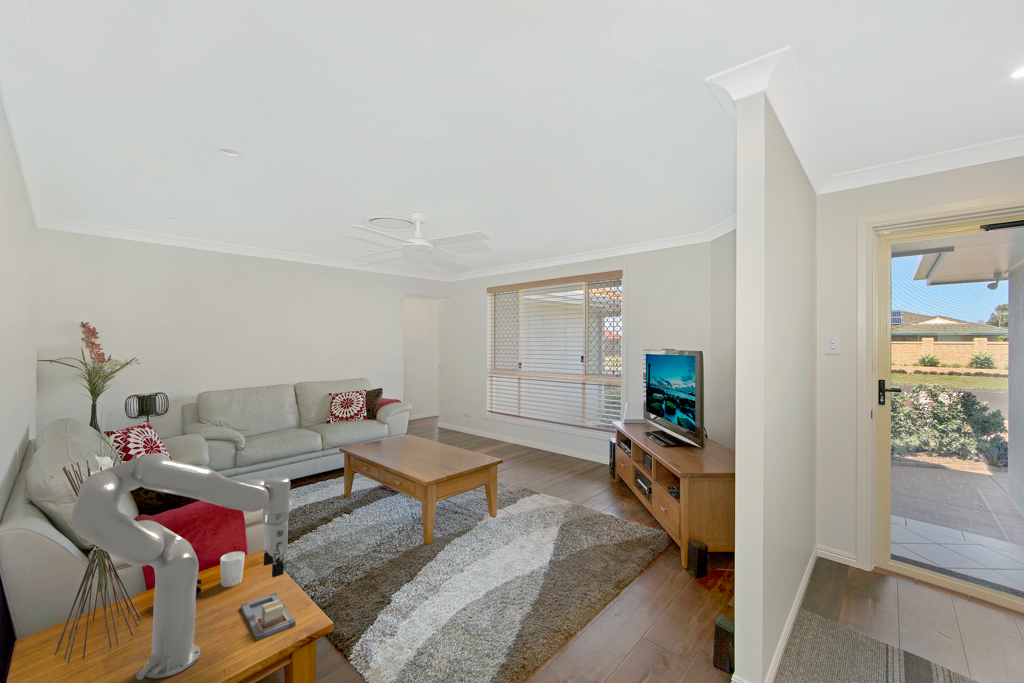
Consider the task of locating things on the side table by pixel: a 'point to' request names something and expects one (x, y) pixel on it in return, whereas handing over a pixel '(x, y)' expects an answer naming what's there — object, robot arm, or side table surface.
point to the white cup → (232, 568)
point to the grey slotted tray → (254, 614)
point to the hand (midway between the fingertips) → (273, 569)
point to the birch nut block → (272, 614)
